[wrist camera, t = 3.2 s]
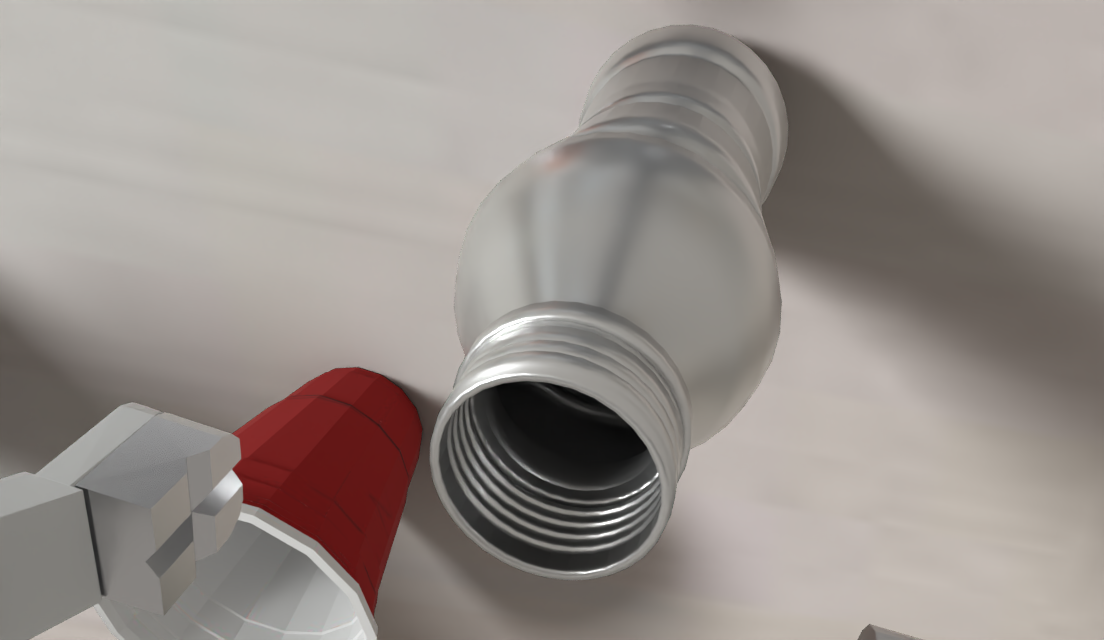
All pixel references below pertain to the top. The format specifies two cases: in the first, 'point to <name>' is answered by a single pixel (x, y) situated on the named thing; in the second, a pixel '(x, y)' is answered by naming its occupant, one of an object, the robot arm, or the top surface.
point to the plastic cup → (301, 521)
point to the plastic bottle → (614, 308)
